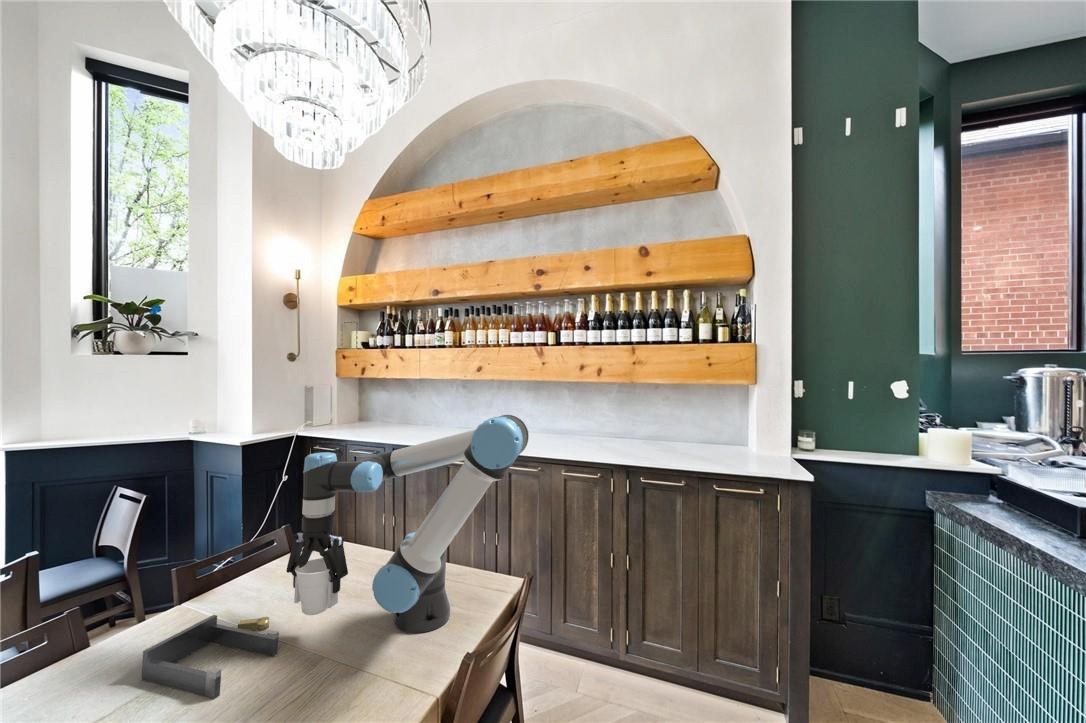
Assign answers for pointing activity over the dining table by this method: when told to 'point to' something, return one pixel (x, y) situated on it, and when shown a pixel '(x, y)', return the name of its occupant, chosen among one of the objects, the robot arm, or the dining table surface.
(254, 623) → the brass key block
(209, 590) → the dining table surface
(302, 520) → the robot arm
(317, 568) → the cup
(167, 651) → the grey u-shaped bracket
